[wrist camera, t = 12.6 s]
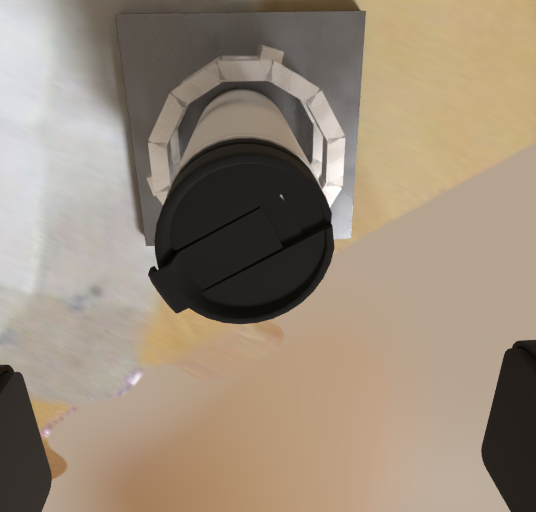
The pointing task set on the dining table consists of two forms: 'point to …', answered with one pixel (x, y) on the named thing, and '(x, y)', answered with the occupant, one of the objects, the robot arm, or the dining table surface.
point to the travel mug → (242, 217)
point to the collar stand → (244, 76)
